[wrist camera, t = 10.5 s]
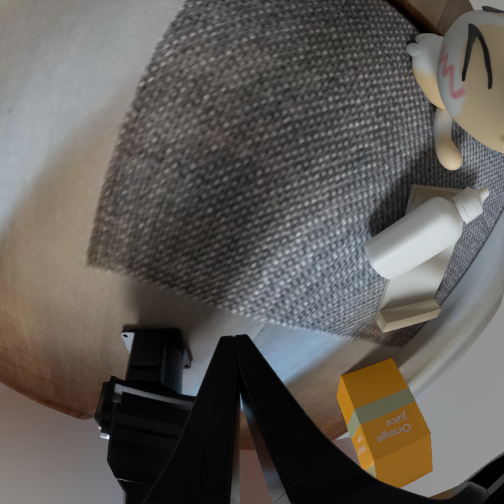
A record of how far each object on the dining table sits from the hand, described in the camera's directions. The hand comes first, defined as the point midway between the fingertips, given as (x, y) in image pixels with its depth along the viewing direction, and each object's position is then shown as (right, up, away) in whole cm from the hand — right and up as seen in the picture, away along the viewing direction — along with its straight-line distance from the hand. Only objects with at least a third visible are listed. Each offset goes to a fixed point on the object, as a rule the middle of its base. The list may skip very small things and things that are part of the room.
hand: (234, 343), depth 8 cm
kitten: (+16, +19, +7) cm, 25 cm away
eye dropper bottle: (+12, +2, +14) cm, 18 cm away
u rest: (+19, +2, +17) cm, 26 cm away
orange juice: (+18, -17, +29) cm, 38 cm away
